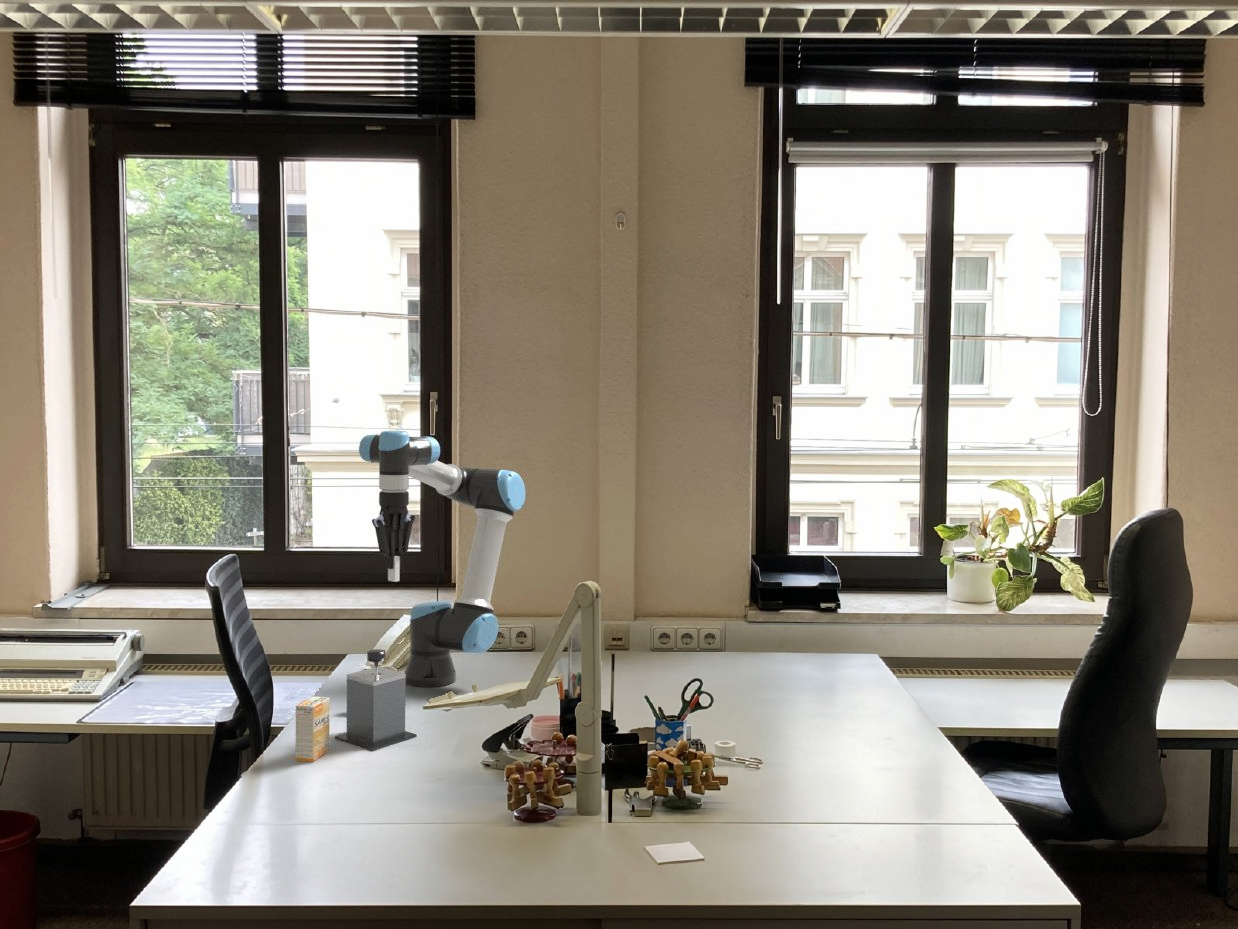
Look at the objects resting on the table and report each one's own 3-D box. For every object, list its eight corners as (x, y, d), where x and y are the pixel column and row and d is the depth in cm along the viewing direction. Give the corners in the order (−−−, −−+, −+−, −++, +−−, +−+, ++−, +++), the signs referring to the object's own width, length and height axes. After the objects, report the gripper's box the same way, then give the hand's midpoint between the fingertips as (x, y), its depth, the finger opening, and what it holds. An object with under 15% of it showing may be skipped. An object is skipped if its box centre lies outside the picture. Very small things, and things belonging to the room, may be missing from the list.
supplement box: (313, 762, 247) (314, 707, 246) (294, 761, 248) (294, 705, 247) (330, 751, 255) (330, 697, 254) (311, 749, 256) (311, 695, 255)
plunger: (377, 703, 270) (378, 646, 268) (397, 709, 265) (397, 651, 264) (354, 710, 264) (355, 651, 263) (374, 716, 259) (374, 656, 258)
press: (376, 724, 275) (377, 663, 274) (416, 736, 266) (417, 673, 265) (332, 737, 264) (332, 674, 263) (372, 751, 255) (372, 685, 254)
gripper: (403, 487, 285) (402, 575, 287) (364, 491, 274) (364, 582, 276) (422, 489, 280) (422, 579, 282) (384, 493, 270) (384, 586, 272)
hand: (393, 580), depth 279 cm, fingers closed
